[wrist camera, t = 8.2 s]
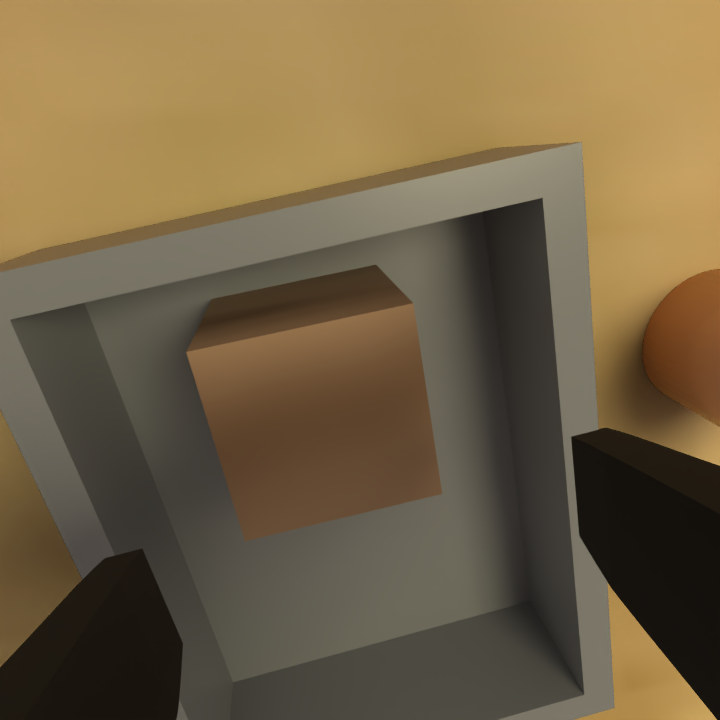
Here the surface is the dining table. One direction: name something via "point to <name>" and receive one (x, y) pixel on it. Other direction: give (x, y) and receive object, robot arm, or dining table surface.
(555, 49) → the dining table surface
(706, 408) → the terracotta capsule
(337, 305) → the walnut cube
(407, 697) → the tote
